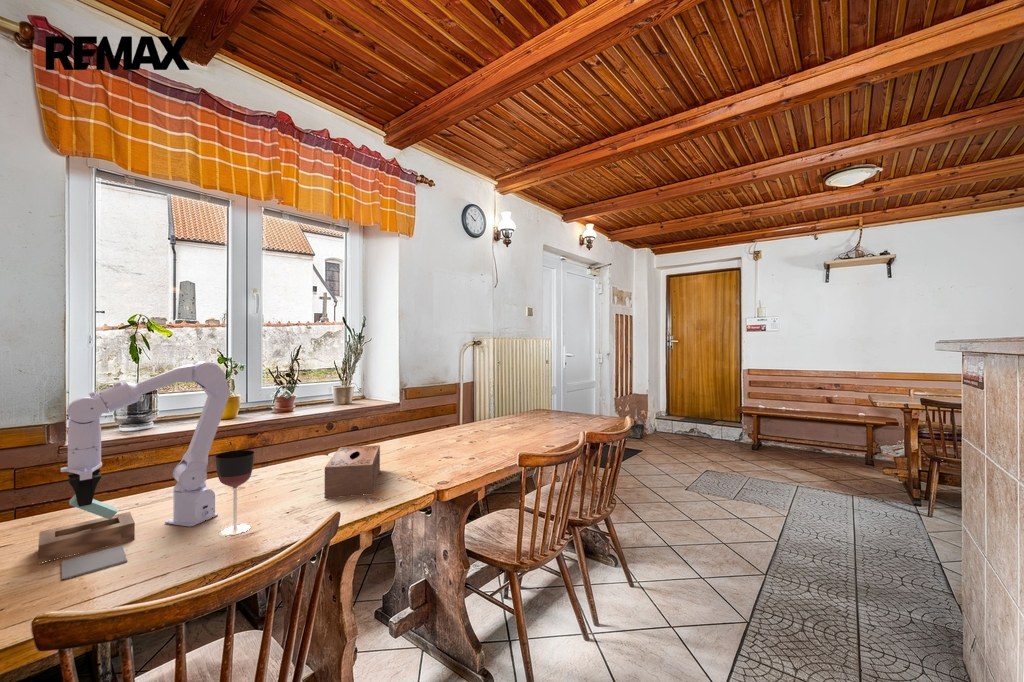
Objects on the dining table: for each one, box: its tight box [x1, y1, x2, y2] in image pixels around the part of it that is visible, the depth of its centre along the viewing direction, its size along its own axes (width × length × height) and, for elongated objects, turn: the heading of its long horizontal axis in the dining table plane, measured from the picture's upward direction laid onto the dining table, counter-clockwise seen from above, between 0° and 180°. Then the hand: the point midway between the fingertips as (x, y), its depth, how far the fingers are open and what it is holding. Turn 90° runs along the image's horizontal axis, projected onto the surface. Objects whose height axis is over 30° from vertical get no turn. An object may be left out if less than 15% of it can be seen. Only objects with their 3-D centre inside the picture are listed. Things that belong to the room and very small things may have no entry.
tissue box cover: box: [324, 444, 381, 499], centre depth 147 cm, size 26×14×10 cm, turn 12°
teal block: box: [68, 493, 118, 520], centre depth 103 cm, size 9×4×2 cm
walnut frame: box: [37, 511, 136, 565], centre depth 103 cm, size 16×10×4 cm, turn 137°
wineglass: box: [215, 449, 255, 535], centre depth 111 cm, size 8×9×20 cm
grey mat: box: [61, 545, 128, 580], centre depth 94 cm, size 10×10×1 cm
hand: (84, 502), depth 102 cm, fingers closed on teal block, 4 cm apart
